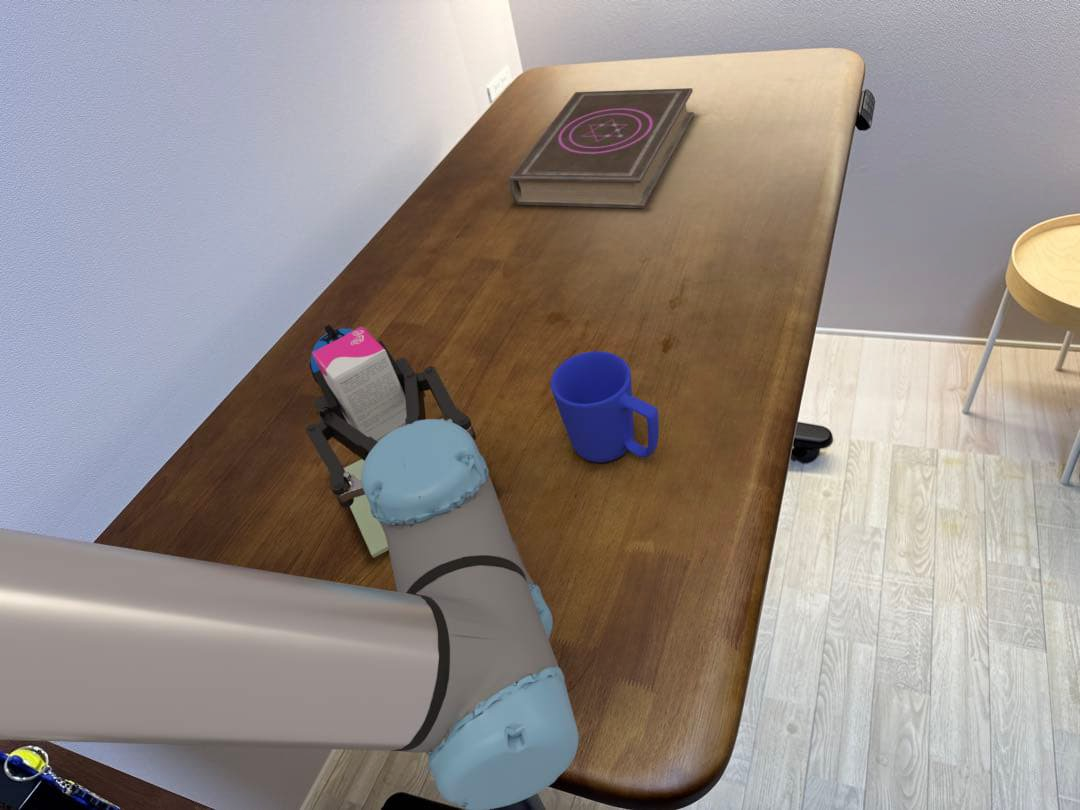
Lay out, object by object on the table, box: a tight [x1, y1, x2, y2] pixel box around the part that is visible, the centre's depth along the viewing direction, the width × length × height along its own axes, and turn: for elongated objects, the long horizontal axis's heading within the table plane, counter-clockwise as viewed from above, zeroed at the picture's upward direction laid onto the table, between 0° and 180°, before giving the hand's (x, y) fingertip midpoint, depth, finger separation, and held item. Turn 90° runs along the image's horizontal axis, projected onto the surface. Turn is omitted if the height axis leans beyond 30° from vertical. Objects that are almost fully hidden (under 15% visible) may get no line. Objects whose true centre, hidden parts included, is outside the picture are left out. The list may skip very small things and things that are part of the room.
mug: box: [550, 350, 660, 464], centre depth 81 cm, size 8×12×10 cm
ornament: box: [309, 324, 355, 386], centre depth 98 cm, size 9×9×10 cm
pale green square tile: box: [343, 417, 445, 559], centre depth 87 cm, size 14×14×1 cm
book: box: [508, 87, 695, 209], centre depth 131 cm, size 30×22×5 cm
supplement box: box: [311, 326, 407, 442], centre depth 77 cm, size 6×6×12 cm
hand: (352, 366), depth 81 cm, fingers closed on supplement box, 6 cm apart
